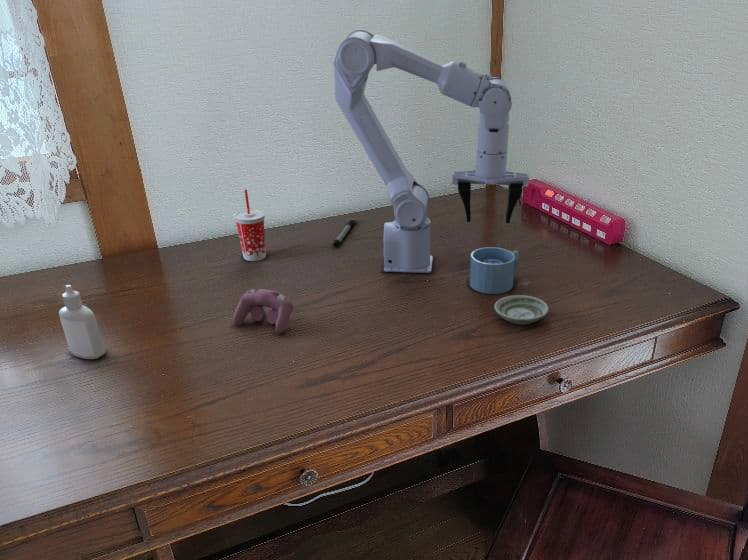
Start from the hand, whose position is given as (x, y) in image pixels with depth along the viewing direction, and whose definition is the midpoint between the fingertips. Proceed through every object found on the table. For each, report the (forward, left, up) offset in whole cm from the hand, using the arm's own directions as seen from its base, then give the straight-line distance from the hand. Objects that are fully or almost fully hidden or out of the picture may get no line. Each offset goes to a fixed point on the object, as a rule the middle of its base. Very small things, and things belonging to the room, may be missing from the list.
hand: (488, 220), depth 144 cm
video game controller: (-39, -27, -10) cm, 48 cm away
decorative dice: (+1, -8, -10) cm, 13 cm away
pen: (-31, +16, -10) cm, 36 cm away
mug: (+2, -7, -10) cm, 12 cm away
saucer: (+6, -22, -10) cm, 25 cm away
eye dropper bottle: (-65, -39, -10) cm, 76 cm away
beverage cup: (-48, +2, -10) cm, 49 cm away
